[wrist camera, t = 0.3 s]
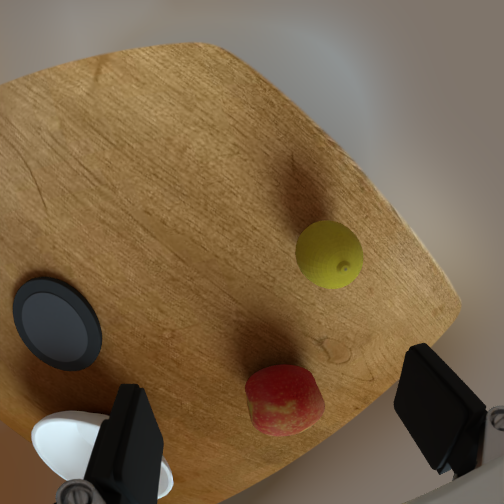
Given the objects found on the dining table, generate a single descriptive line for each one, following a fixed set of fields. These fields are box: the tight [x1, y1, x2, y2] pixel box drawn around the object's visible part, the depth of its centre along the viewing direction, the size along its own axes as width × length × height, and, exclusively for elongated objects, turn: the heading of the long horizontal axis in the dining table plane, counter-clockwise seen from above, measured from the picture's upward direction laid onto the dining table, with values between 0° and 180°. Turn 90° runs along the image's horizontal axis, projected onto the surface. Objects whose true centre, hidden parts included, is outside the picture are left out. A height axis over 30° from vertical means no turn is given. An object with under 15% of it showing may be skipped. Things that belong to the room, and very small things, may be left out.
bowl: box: [32, 411, 173, 499], centre depth 32 cm, size 20×20×7 cm
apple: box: [245, 364, 325, 436], centre depth 31 cm, size 8×8×8 cm
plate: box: [13, 277, 102, 371], centre depth 30 cm, size 12×12×1 cm
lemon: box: [295, 220, 363, 289], centre depth 27 cm, size 6×6×8 cm
